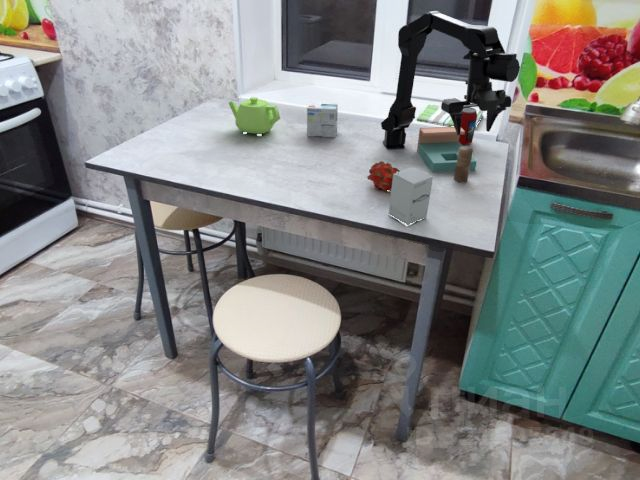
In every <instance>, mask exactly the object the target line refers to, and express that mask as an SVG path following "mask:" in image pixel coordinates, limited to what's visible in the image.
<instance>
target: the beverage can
mask: <svg viewBox="0 0 640 480" xmlns="http://www.w3.org/2000/svg"><path fill="white" fill-rule="evenodd" d="M476 111H477V109H476V108H475V107H467V108H463V110H462V111H461V112H462V113H463V116H462V118H461V128H462V129H463V130H464V131H465V134H460V137H459V142H460V144H461V145H462V146H468V145H470V144H471V143H473V140H474V136H475V131H476V130H475V126H476V120H477V112H476Z"/></svg>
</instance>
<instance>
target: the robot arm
mask: <svg viewBox="0 0 640 480" xmlns="http://www.w3.org/2000/svg"><path fill="white" fill-rule="evenodd" d="M434 31H437V32H440V33H442V34H444V35H447V36H448V37H451V38H453V39H456V40H458V41H459V42H461V43H462V46H464V47H465V48H466V49H467V50H468V52H467V53H466V54H465V55H463V57H462V58H463V60H469V65H468V74H467V75H468V76H467V80H465V83H464V84H465V85H467V86H466V87H467V89H466V94H464V95H463V99H464V100H460V99H459V98H458V99H457V98H456V97H455V98H445V99H443V100H442V102H441V103H440V104H441V105H440V106H441V109H442V110H444V111H445V112H447V113H449V114H450V116H451V119H452V121H453V124H454V127H455V130H456V133H457V135H460V131H461V118H462V116H463V113H462V112H461V111H462V110H463V108H467V107H471V108H475V107H478V108H479V111H480V110H481V111H483V112H486V121H485V122H486V123H485V127H486V128H485V131H487V132H490V131H491V129H492V127H493V125H494V123H495V121H496V119H497V118H498V116H499V114H500V113H502V112H503V111H506V110H507V108H511V107H512V102H513V100H512V98H511V96H510V95H508V94H506V91H505V89H497V90H493V82H492V81H490V80H495V81H500V82H507V83H512V82H514V81H515V80H516V79H517V77H518V76H519V73H520V70H521V66H520V62H519V60H518V58H517V57H518V55H517V53H506V51H505V49H504V47H503V45H502V44H503V43H502V42H501V40H500V38H499V34H498V30H497V28H495V27H494V26H488V25H481V24H480V25H477V24H470V23H466V22H464V21H461V20H459V19H456V18H453V17H451V16H448V15H446V14H443V13H441V12H440V11H439V10H434V11H427V12H425V13H424V14H422V15H421V16H420V17H418V18H416V19H415V20H413V21H411V22H410V23H408V24H405V25H403V26H401V28H399V31H398V33H397V34H398V36H397V37H398V38H397V39H398V40H397V42H398V43H397V45H398V46H397V47H398V49H399V52H400V53H401V58H400V65H399V72H398V77H397V78H398V79H397V85H396V86H397V87H396V95H395V99H394V101H393V103H392V104H391V106H390V107H389V111H388V114H387V116H386V118H385V119H384V120H383V121H381V123H380V126H381V130H384V138H383V140H382V143H383V145H384V148H385V149H387V150H390V149H391V150H392V149H393V150H394V149H405V147H406V146H405V144H406V137H407V133H406V129H409V127H410V125H411V124H412V123H413V121H414V120H415V119H416V110H417V107H416V106H414V105H413V103H412V95H413V88H414V83H415V82H414V80H415V75H416V69H417V63H418V56H419V54H421V51H422V50H423V48H424V47H425V44H426V40H427V37H429V35H431V34H432V33H433V32H434Z"/></svg>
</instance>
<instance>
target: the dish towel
mask: <svg viewBox="0 0 640 480" xmlns="http://www.w3.org/2000/svg"><path fill="white" fill-rule="evenodd" d="M476 112H477V120H476V125H477V123H478V122H479V121H480V119H482V118H483V119H484V115H483V113H484V111H481V110H480V109H479V110H476ZM483 119H482V120H483ZM417 120H419V121H418V122H422V121H425V122H424V123H427V122H431V123H430V124H433V123H437V124H436V125H438V124H443V125H442V126H444V125H449V126H448V127H450V126H454V124H453V121H452V119H451V116H450V114H449V113H447V112H445V111H444V110H442V109H441V105H435V104H428V105H427V106H426V107H425V109H424V110H423V111H422V112H421V113H419V114H418V117H417V118H416V121H417ZM475 129H476V126H475ZM476 130H477V129H476Z"/></svg>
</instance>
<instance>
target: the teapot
mask: <svg viewBox="0 0 640 480" xmlns="http://www.w3.org/2000/svg"><path fill="white" fill-rule="evenodd" d="M228 105H229V108H230V110H231V112H232V114H233V116H234V119H235V126H236V127H237V128H238V130H239V131H240V132H247V133H248V134H256V133H257V134H262V133H263V134H265V133H267V132H270V131H271V130H272V129H273V127H274V126H275V123H276V122H278V121H279V120H281V116H280V111H279V108H278V105H271V104H270V103H269V102H268V101H267V100H264V99H259V98H258V97H255V96H253V97H250V98H248V99H245V100H243V101H242V102H241V103H240V104H239V105H238V106H237V104H236V102H234V100H233V101H232V100H231V101H229V102H228ZM270 129H271V130H270ZM269 130H270V131H269Z"/></svg>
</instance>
